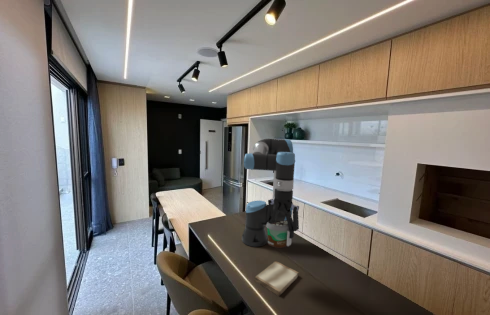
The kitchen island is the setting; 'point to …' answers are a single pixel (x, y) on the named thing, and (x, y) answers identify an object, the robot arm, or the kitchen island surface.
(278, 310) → the kitchen island surface
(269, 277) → the board
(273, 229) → the food container
